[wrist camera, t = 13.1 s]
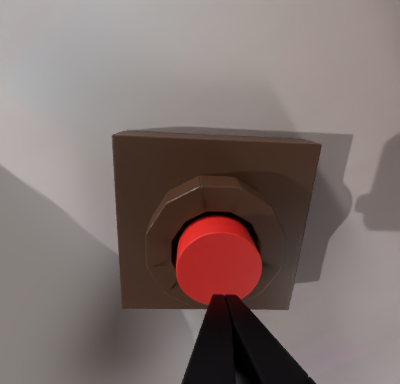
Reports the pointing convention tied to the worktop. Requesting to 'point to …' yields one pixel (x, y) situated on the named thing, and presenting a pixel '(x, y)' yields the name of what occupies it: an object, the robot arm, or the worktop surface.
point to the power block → (208, 208)
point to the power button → (217, 259)
